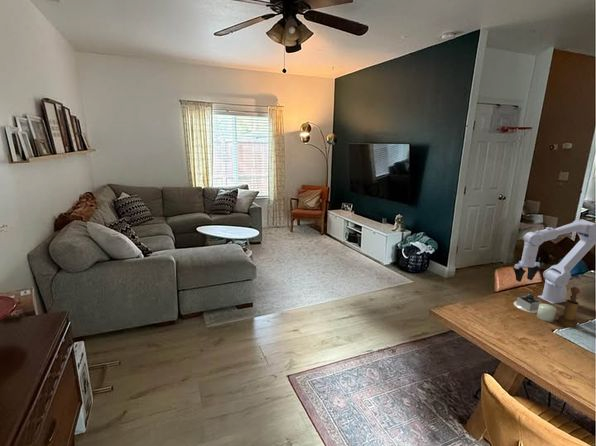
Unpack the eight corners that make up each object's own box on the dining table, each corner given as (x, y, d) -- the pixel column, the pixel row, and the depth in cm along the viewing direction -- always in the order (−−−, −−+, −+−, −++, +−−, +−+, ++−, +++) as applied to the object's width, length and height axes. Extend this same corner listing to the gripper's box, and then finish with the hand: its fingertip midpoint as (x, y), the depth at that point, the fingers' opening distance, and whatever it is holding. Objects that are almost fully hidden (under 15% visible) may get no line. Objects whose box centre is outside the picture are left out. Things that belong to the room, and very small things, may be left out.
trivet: (525, 299, 161) (525, 299, 161) (549, 311, 150) (549, 311, 150) (507, 302, 158) (507, 302, 158) (530, 315, 147) (530, 314, 147)
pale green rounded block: (543, 314, 148) (546, 302, 146) (557, 321, 142) (560, 309, 140) (533, 315, 146) (535, 304, 145) (546, 323, 140) (549, 311, 139)
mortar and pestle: (580, 328, 136) (589, 291, 131) (563, 327, 137) (572, 290, 133) (570, 320, 142) (579, 284, 138) (554, 319, 143) (562, 283, 139)
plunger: (527, 302, 157) (529, 291, 155) (537, 307, 152) (539, 296, 150) (519, 303, 155) (521, 293, 154) (529, 308, 151) (531, 297, 149)
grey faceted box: (522, 300, 160) (523, 293, 159) (540, 309, 151) (541, 302, 150) (511, 301, 158) (513, 295, 157) (529, 311, 150) (530, 304, 149)
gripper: (532, 251, 162) (527, 275, 166) (510, 254, 158) (506, 278, 162) (546, 256, 156) (540, 281, 159) (523, 258, 152) (518, 284, 155)
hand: (523, 280), depth 160 cm, fingers open, 7 cm apart
